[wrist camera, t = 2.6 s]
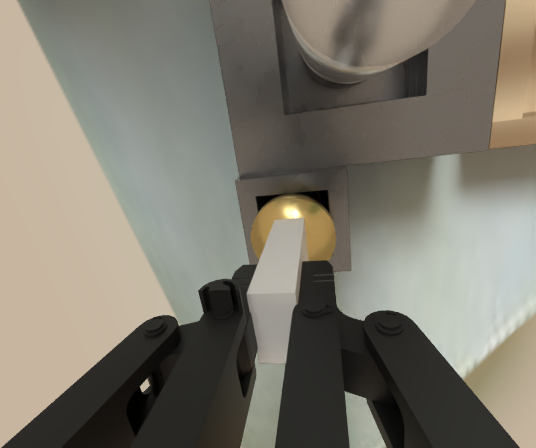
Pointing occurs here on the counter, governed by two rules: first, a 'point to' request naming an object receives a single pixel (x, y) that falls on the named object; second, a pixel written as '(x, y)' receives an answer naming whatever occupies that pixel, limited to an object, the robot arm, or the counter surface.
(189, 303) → the counter surface
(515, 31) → the tray
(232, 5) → the socket block
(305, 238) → the robot arm
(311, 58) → the shiny silver rounded cylinder
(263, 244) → the gold rounded cylinder
